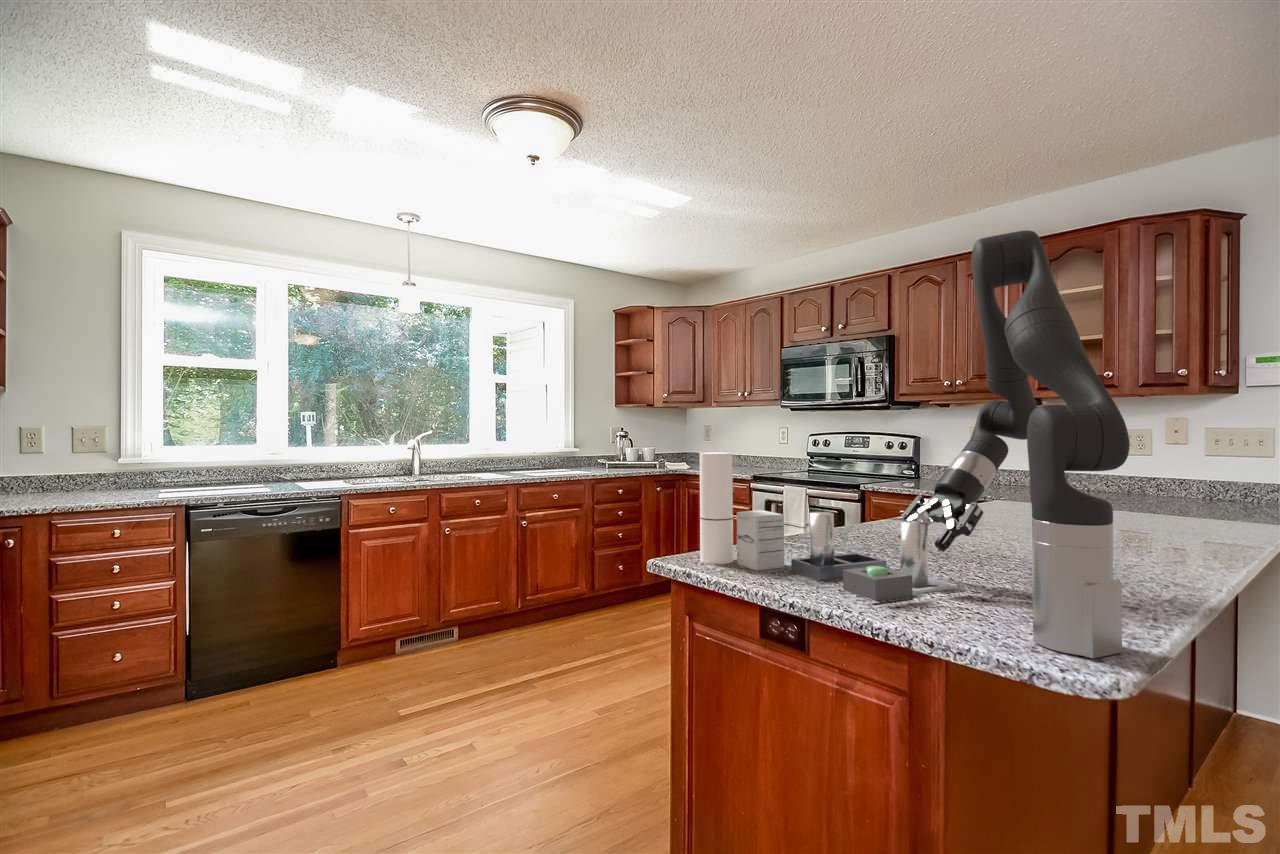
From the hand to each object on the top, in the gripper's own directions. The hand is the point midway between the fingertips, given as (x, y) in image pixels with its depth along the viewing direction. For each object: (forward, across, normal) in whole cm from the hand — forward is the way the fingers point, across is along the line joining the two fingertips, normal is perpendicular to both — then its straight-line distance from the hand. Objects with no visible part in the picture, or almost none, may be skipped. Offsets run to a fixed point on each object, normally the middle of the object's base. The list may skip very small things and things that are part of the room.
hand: (920, 544), depth 115 cm
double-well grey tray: (+12, -13, 0) cm, 18 cm away
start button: (+13, +2, -4) cm, 14 cm away
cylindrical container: (+24, -33, -11) cm, 42 cm away
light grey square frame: (+7, 0, +5) cm, 9 cm away
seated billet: (+14, -13, -3) cm, 19 cm away
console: (+15, +2, -2) cm, 15 cm away
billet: (+7, 0, +4) cm, 8 cm away
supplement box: (+20, -25, -7) cm, 32 cm away
